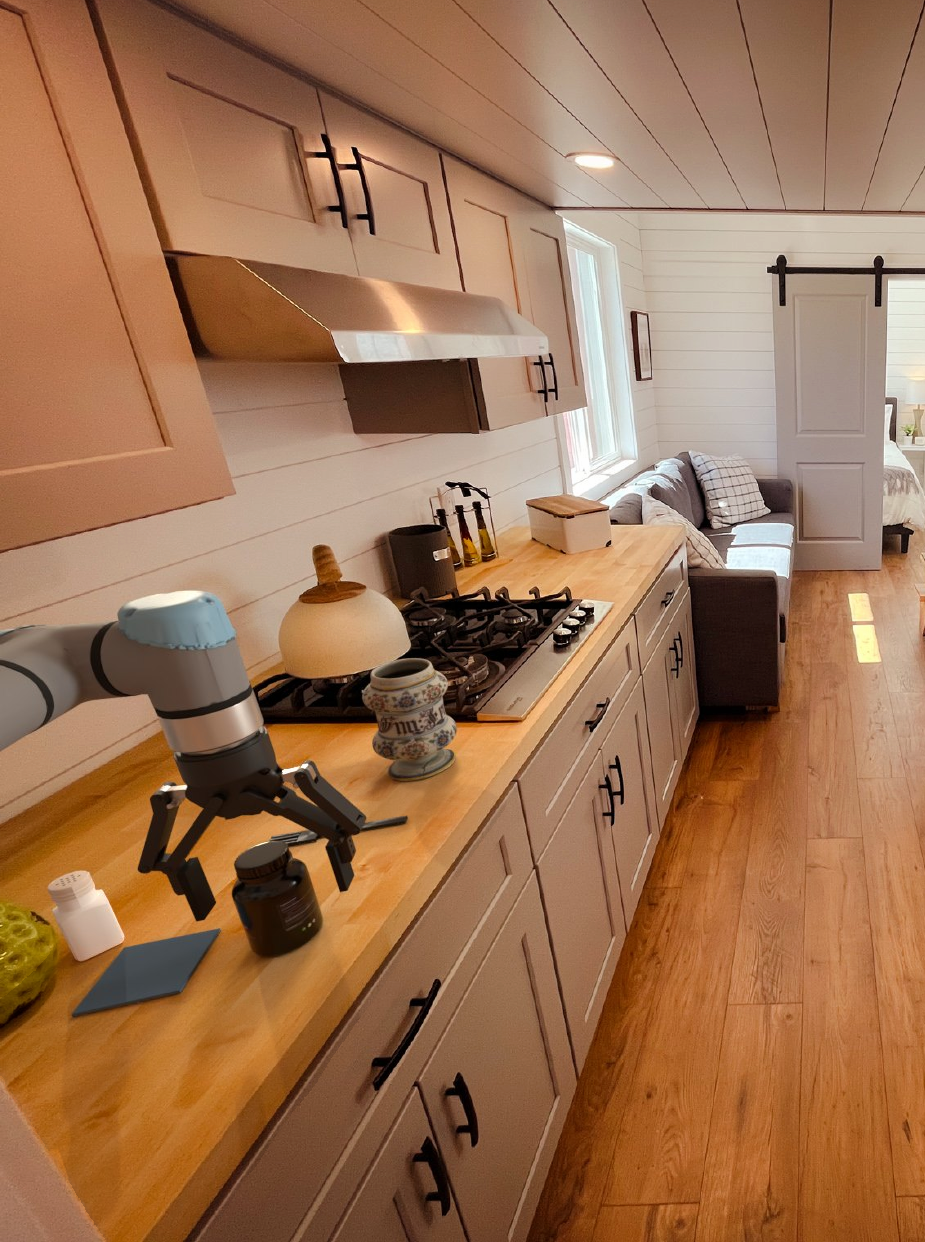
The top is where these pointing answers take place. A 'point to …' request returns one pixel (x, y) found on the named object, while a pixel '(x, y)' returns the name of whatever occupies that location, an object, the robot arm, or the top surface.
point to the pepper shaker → (84, 915)
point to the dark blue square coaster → (148, 972)
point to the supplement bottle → (275, 899)
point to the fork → (310, 836)
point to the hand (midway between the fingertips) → (278, 897)
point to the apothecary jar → (411, 718)
